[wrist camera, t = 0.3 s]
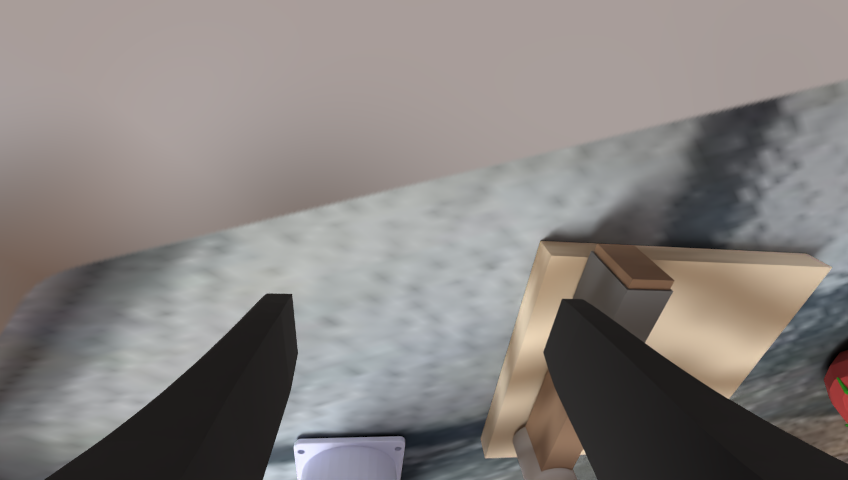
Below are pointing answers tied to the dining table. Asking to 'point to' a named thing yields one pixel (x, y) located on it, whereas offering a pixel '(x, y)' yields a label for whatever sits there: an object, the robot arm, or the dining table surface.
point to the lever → (628, 306)
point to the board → (659, 320)
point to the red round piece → (838, 384)
